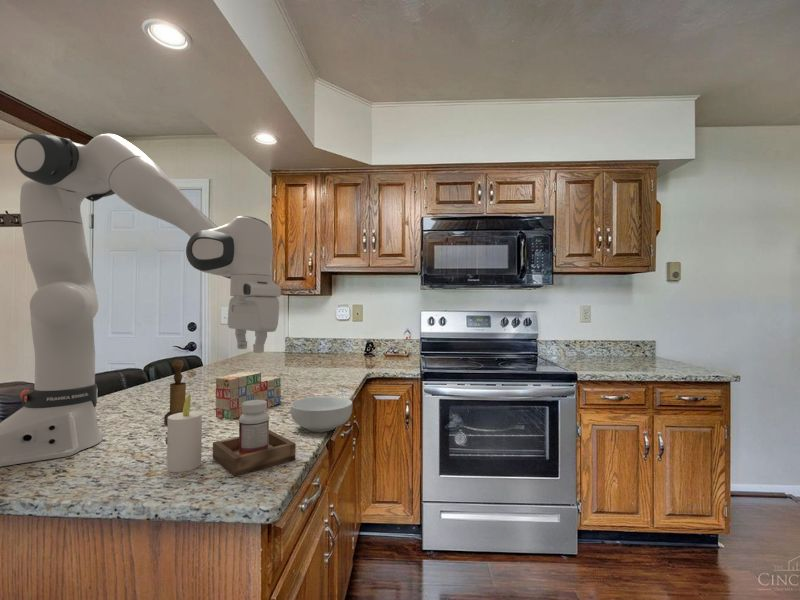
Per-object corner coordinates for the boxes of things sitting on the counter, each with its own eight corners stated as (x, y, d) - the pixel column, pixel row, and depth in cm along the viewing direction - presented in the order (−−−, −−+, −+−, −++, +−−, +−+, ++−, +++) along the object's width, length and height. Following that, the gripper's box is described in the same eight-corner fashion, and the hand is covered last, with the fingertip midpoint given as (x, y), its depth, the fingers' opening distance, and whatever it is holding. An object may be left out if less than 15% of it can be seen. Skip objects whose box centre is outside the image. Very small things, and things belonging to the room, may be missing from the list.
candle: (170, 462, 85) (171, 391, 85) (203, 458, 87) (204, 390, 87) (161, 473, 79) (162, 398, 79) (197, 470, 81) (198, 396, 81)
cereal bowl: (326, 441, 98) (326, 413, 98) (276, 431, 106) (277, 405, 106) (364, 424, 113) (364, 399, 113) (318, 416, 121) (318, 393, 121)
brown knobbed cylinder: (194, 421, 115) (195, 359, 116) (171, 427, 110) (172, 361, 110) (182, 417, 119) (182, 357, 119) (159, 423, 113) (160, 360, 114)
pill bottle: (245, 449, 90) (245, 398, 90) (272, 449, 90) (272, 399, 90) (233, 459, 84) (234, 405, 84) (263, 459, 84) (263, 405, 84)
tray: (234, 476, 77) (234, 458, 77) (212, 458, 87) (212, 442, 87) (295, 459, 86) (295, 443, 86) (269, 444, 96) (269, 429, 96)
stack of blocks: (267, 402, 139) (267, 367, 139) (280, 404, 136) (281, 368, 136) (215, 418, 119) (215, 377, 120) (230, 420, 117) (230, 378, 117)
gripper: (221, 289, 95) (219, 347, 94) (255, 286, 80) (253, 355, 79) (247, 290, 99) (246, 346, 99) (284, 288, 84) (283, 353, 83)
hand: (249, 350), depth 89 cm, fingers open, 8 cm apart
